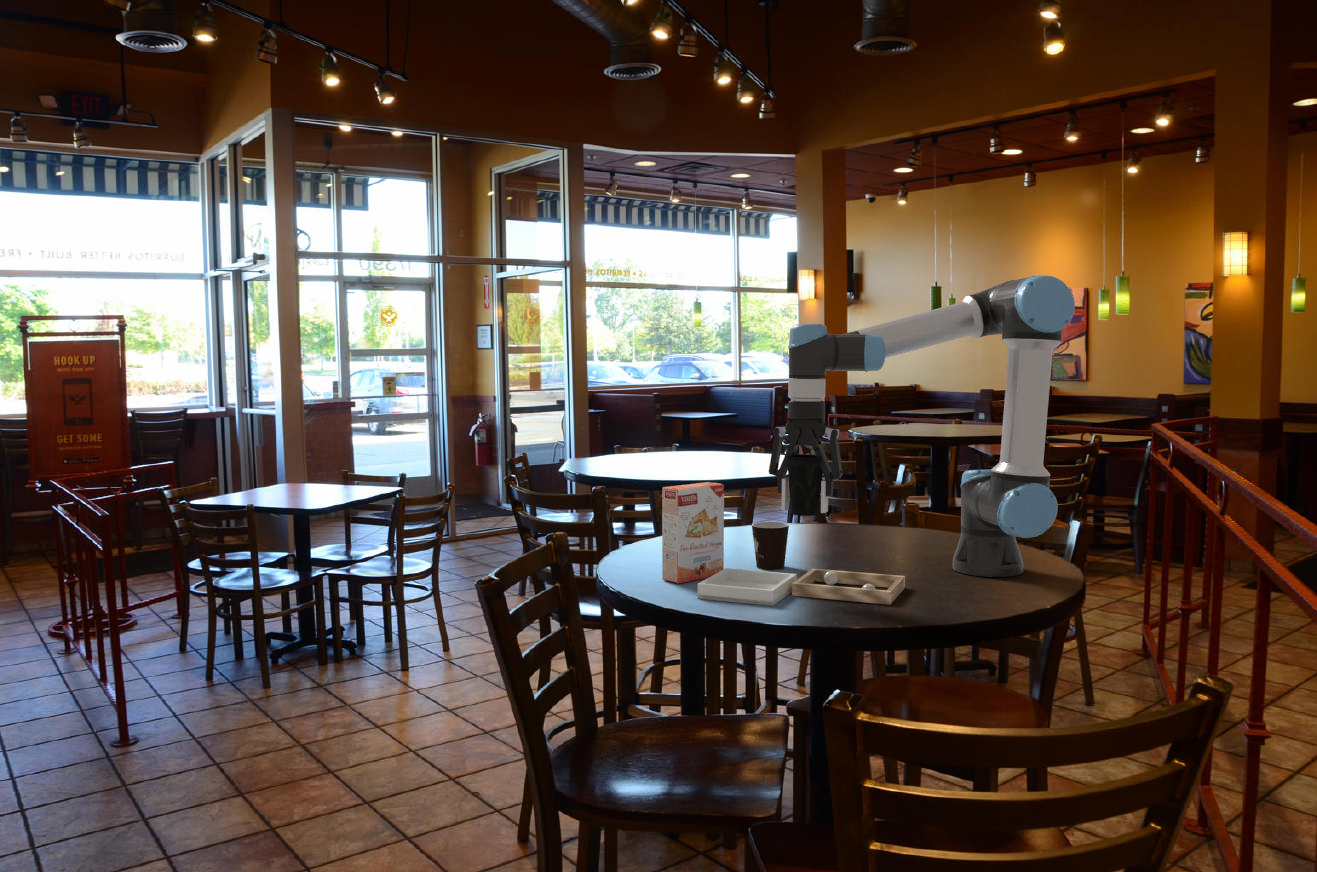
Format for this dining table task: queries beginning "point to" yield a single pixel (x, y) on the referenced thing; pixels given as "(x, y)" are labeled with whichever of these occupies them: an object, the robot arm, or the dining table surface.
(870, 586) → the pebble
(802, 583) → the frame
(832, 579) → the pebble
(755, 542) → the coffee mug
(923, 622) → the dining table surface
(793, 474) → the cup
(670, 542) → the cracker box
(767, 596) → the bin
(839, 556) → the dining table surface
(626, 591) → the dining table surface
